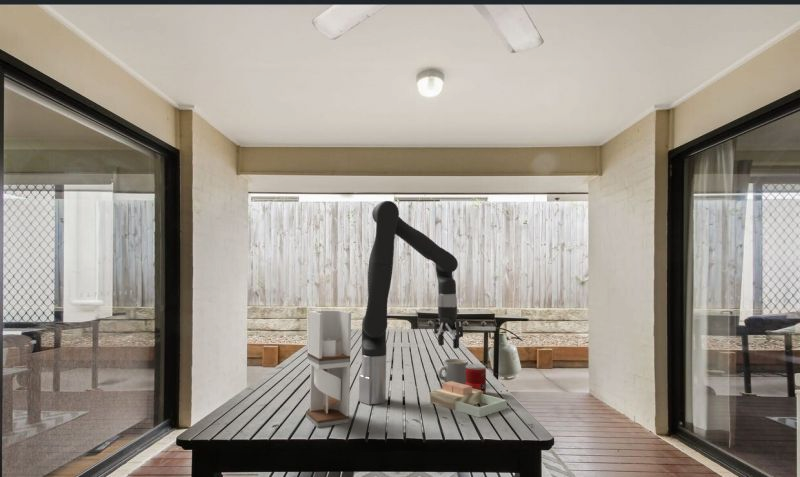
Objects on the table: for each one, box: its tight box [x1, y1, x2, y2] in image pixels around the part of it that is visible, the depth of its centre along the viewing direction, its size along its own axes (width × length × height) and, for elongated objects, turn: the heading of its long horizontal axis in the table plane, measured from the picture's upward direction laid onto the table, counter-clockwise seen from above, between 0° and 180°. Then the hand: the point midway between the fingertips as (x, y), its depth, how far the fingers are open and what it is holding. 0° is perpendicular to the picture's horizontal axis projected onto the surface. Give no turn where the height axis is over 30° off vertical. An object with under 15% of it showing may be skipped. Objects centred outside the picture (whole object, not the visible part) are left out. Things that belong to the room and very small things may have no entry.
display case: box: [305, 309, 352, 428], centre depth 153 cm, size 11×11×35 cm
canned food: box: [466, 363, 487, 395], centre depth 186 cm, size 8×8×11 cm
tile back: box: [441, 381, 461, 392], centre depth 175 cm, size 5×5×2 cm
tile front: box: [453, 384, 472, 395], centre depth 171 cm, size 5×5×2 cm
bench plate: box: [429, 388, 483, 411], centre depth 173 cm, size 16×12×4 cm
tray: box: [454, 393, 508, 418], centre depth 165 cm, size 16×11×3 cm
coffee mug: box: [437, 358, 469, 385], centre depth 200 cm, size 13×10×10 cm
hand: (448, 346), depth 182 cm, fingers open, 8 cm apart
